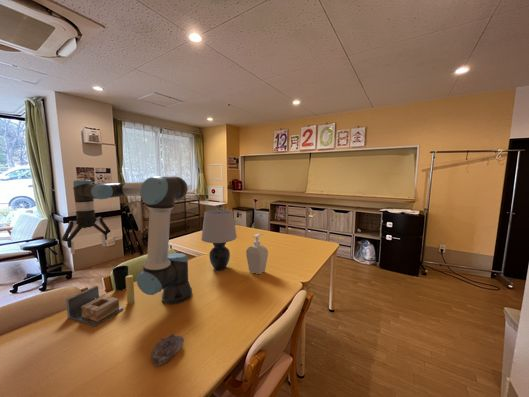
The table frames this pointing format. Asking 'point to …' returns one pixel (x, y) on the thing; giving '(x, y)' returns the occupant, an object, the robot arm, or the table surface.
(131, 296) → the dowel
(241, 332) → the table surface
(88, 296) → the dark grey angled piece
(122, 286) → the cup
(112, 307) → the block
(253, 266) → the soap bottle
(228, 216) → the lamp
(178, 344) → the rock
